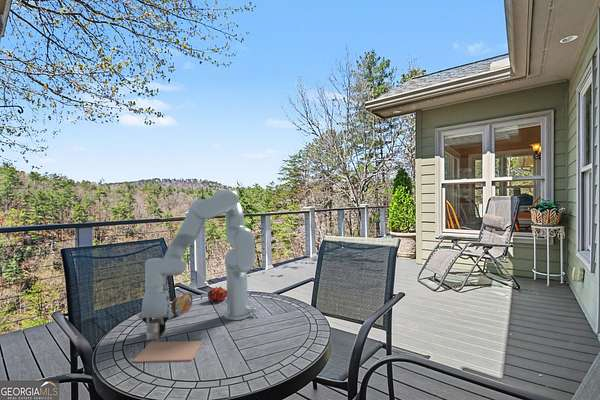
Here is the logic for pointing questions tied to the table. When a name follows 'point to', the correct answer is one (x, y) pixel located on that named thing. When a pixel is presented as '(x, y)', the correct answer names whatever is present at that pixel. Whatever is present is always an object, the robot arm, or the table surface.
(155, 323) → the card box
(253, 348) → the table surface
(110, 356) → the table surface
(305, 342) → the table surface
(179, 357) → the mat
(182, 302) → the tin
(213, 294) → the dragon fruit
